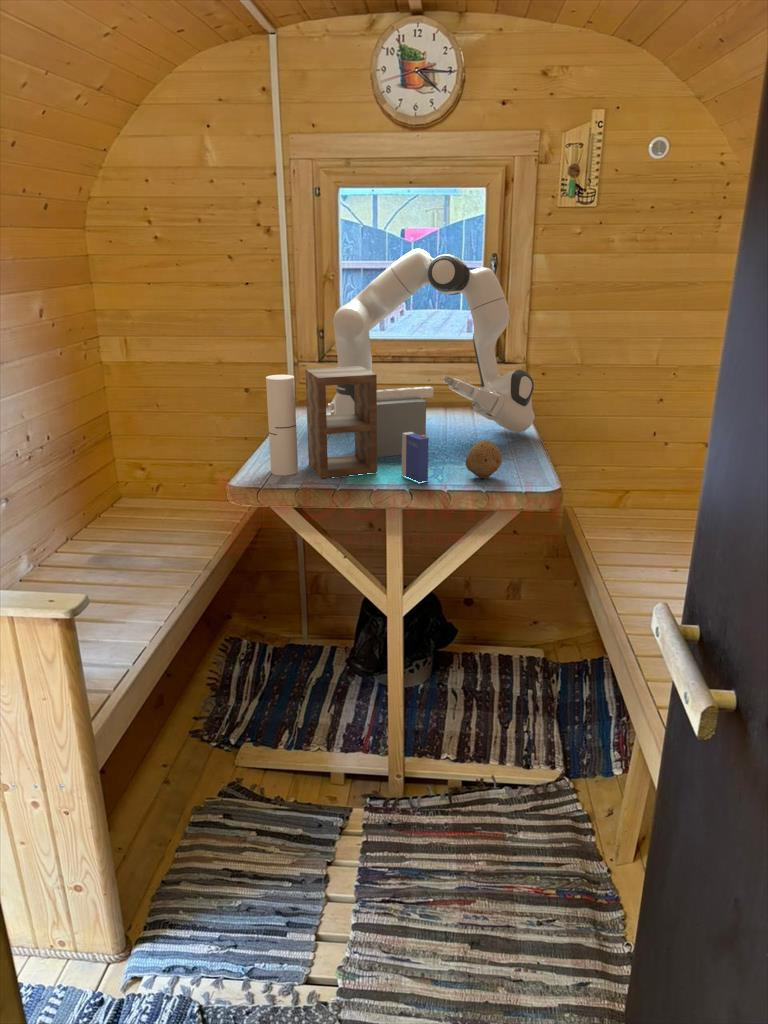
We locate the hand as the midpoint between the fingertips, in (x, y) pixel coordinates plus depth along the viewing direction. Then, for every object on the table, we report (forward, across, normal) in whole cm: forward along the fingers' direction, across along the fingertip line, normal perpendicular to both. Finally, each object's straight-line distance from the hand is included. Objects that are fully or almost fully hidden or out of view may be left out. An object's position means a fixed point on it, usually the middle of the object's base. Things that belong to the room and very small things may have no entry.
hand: (450, 380), depth 220 cm
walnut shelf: (+22, +14, +35) cm, 44 cm away
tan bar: (+12, 0, +11) cm, 16 cm away
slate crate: (+6, 0, +25) cm, 26 cm away
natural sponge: (-6, +34, +19) cm, 39 cm away
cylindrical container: (+35, +11, +42) cm, 56 cm away
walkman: (+9, +29, +28) cm, 41 cm away
